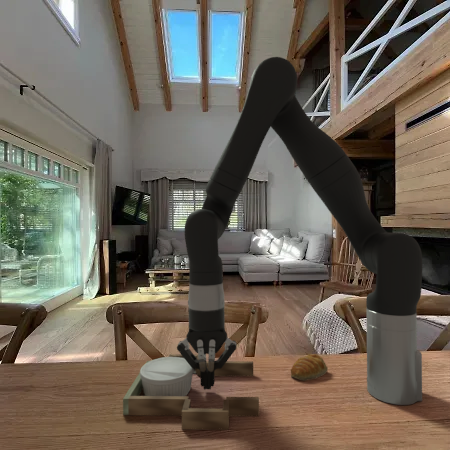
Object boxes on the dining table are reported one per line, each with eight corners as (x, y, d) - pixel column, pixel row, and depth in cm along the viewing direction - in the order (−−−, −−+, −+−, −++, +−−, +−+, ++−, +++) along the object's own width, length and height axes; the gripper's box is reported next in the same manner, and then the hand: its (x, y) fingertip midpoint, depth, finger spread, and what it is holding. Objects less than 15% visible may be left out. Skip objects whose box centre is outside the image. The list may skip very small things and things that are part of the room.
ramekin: (143, 411, 61) (143, 383, 61) (136, 385, 71) (136, 360, 71) (200, 400, 65) (200, 373, 65) (186, 376, 75) (186, 353, 75)
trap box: (252, 367, 80) (252, 354, 80) (260, 430, 55) (260, 412, 55) (151, 366, 80) (151, 354, 80) (115, 428, 55) (115, 410, 56)
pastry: (308, 386, 70) (308, 368, 70) (282, 376, 75) (282, 360, 75) (329, 373, 77) (329, 356, 77) (305, 364, 82) (304, 349, 82)
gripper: (237, 300, 71) (238, 379, 71) (178, 300, 72) (179, 379, 72) (238, 308, 64) (239, 396, 64) (171, 309, 64) (172, 397, 64)
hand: (207, 387), depth 68 cm, fingers closed
